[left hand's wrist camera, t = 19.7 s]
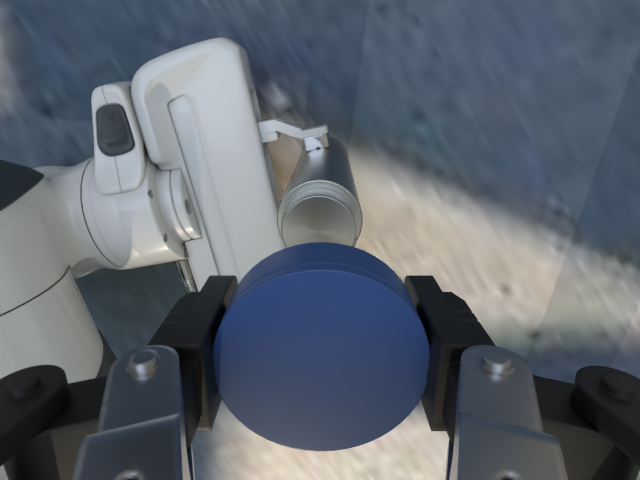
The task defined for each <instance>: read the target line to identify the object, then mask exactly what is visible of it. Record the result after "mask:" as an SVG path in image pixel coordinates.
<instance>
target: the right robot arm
mask: <svg viewBox="0 0 640 480" xmlns="http://www.w3.org/2000/svg"><path fill="white" fill-rule="evenodd" d="M91 104H92V118H93V133H94V157H91V158H89V159H87V160H85V161H83V162H82V163H80V164H78V165H75V166H70V167H64V166H42V167H37V168H32V169H31V168H29V167H26V166H22V165H18V164H15V163H11V162H8V161H4V160H0V379H1V378H3V377H5V376H7V375H9V374H11V373H13V372H16V371H18V370H21V369H24V368H28V367H32V366H37V365H55V366H59V367H61V368H62V369H63V370H64V371H65V373H66V377H67V381H68V384H69V383H74V382H78V381H83V380H88V379H93V378H98V377H102V376H106V375H108V371H109V368H110V366H111V365H112V363H113V362H114V361H115V360H116V359H117V358H116V356H115V355H114V353H113V351H112V350H111V348H110V346H109V345H108V343H107V341H106V340H105V338H104V337H103V335H102V333H101V332H100V330H99V329H98V328H97V327H96V325H95V323H94V321H93V319H92V317H91V314H90V312H89V310H88V308H87V306H86V304H85V302H84V299H83V297H82V295H81V293H80V291H79V289H78V287H77V285H76V282H75V280H74V278H78V277H82V276H85V275H87V274H89V273H91V272H93V271H95V270H98V269H102V268H109V269H117V270H125V269H131V268H137V267H143V266H148V265H154V264H160V263H166V262H172V261H175V264H176V266H177V269H178V272H179V275H180V277H181V280H182V282H183V284H184V286H185V288H186V291H187V293H186V294H188V293H190V292H200V291H201V289H202V287H203V286H204V284H205V282H206V281H207V279H208V277H209V276H210V275H235V276H236V277H237V281H238V284H239V283H240V281H241V280H242V278H243V277H244V276H245V275H246V274H247V273H248V272H249V271H250V270H251V268H253V267H254V266H255V265H256V264H258V263H259V262H260V261H261V260H263V259H264V258H266V257H268V256H269V255H271V254H273V253H275V252H277V251H280V250H282V249H284V248H286V246H285V244H284V241H283V240H282V238H281V236H280V234H279V231H278V226H277V213H278V208H279V206H280V203H281V200H280V196H279V191H278V187H277V182H276V178H275V174H274V169H273V165H272V161H271V156H270V152H269V148H268V143H267V142H270V141H275V140H277V139H278V138H279V137H280V132H281V133H284V134H287V135H290V136H292V137H295V138H298V139H301V140H303V139H304V144H305V148H306V151H311V150H315V149H316V148H317V147H319V148H327V147H330V139H329V133H328V128H327V124H324V125H318V126H313V127H307V128H303V127H302V126H299V125H296V124H294V123H291V122H288V121H285V120H283V119H280V118H272V119H267V120H262V117H261V113H260V108H259V104H258V100H257V95H256V91H255V86H254V82H253V78H252V73H251V69H250V65H249V60H248V56H247V53H246V51H245V49H244V48H242V47H241V46H240V45H239V44H237V43H236V42H234V41H232V40H230V39H228V38H224V37H219V38H214V39H209V40H205V41H201V42H198V43H194V44H191V45H188V46H185V47H182V48H179V49H176V50H173V51H171V52H168V53H166V54H163V55H161V56H159V57H156V58H154V59H152V60H150V61H148V62H147V63H145V64H144V65H143V66H141V67H140V68H139V69H138V71H137V72H136V73H135V75H134V77H133V80H132V81H121V82H114V83H109V84H105V85H102V86H99V87H97V88H96V89H94V91H93V93H92V98H91ZM0 480H8V477H7V474H6V472H5V469H4V466H3V465H2V466H1V467H0Z"/></svg>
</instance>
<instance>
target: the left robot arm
mask: <svg viewBox="0 0 640 480" xmlns="http://www.w3.org/2000/svg"><path fill="white" fill-rule="evenodd" d="M237 285H238V281H237V277H236V276H235V275H210V276H209V277H208V279H207V281H206V282H205V284H204V286H203V287H202V289H201V291H200V292H190V293H188V294H187V295H185V296H184V297H182V298H181V299H179V300H178V301H177V302H176V304H175V305H174V307H173V308H172V310H171V313H169V314H168V316H167V317H166V319H165V321H164V322H163V323H162V324H161V326H160V327H159V329H158V330H157V332H156V333H155V335H154V336H153V338H152V339H151V341H150V342H149V344H148V345H147V346H143V347H139V348H136V349H133V350H131V351H129V352H127V353H125V354H123V355H122V356H120V357H119V358H117V359H116V360H115V361H114V362H113V363H112V365H111V366H110V368H109V371H108V375H106V376H102V377H98V378H93V379H88V380H83V381H78V382H74V383H69V384H68V381H67V377H66V373H65V371H64V370H63V369H62V368H61V367H59V366H55V365H37V366H32V367H28V368H24V369H21V370H18V371H16V372H13V373H11V374H9V375H7V376H5V377H3V378H1V379H0V467H1V466H2V465H3V466H4V469H5V472H6V474H7V477H8V480H195V476H194V464H193V452H192V445H191V443H192V441H193V438H194V435H195V432H196V430H212V427H213V424H214V421H215V418H216V415H217V411H218V408H219V405H220V402H221V399H222V398H221V396H220V394H219V392H218V390H217V386H216V378H215V369H214V360H213V343H214V339H215V336H216V333H217V330H218V328H219V326H220V323H221V321H222V318H223V316H224V314H225V311H226V309H227V307H228V304H229V302H230V300H231V297H232V295H233V293H234V291H235V289H236V287H237ZM404 285H405V287H406V288H407V290H408V292H409V295H410V297H411V299H412V301H413V304H414V306H415V308H416V311H417V313H418V315H419V317H420V320H421V322H422V324H423V327H424V329H425V331H426V334H427V337H428V341H429V344H430V355H429V364H428V373H427V381H426V388H425V390H424V393H423V395H422V397H421V401H422V404H423V407H424V410H425V413H426V416H427V419H428V422H429V426H430V429H431V431H447V433H448V436H449V445H448V452H447V464H446V476H445V480H636V479H637V476H638V473H639V471H640V379H638V378H636V377H635V376H633V375H630V374H628V373H626V372H623V371H620V370H617V369H613V368H609V367H603V366H587V367H583V368H581V369H579V371H578V372H577V374H576V377H575V380H574V384H571V383H566V382H562V381H557V380H552V379H547V378H543V377H538V376H535V375H532V371H531V368H530V366H529V365H528V363H527V362H526V361H525V360H524V359H523V358H521V357H520V356H518V355H517V354H515V353H513V352H511V351H509V350H507V349H504V348H501V347H497V346H495V344H494V343H493V341H492V340H491V338H490V337H489V336H488V334H487V333H486V331H485V330H484V328H483V327H482V325H481V324H480V323H479V322H478V321H477V318H476V317H475V315H474V314H473V313H472V311H471V309H470V308H469V307H468V305H467V304H466V302H465V301H464V300H463V299H461V298H460V297H458V296H456V295H455V294H453V293H452V292H442V290H441V289H440V287H439V285H438V284H437V282H436V280H435V279H434V277H433V276H406V278H405V282H404Z"/></svg>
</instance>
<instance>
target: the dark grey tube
mask: <svg viewBox="0 0 640 480" xmlns="http://www.w3.org/2000/svg"><path fill="white" fill-rule="evenodd" d="M329 139H330V147H327V148H319V147H317V148H316V149H315V150H311V151H306V148H304V149H303V152H302V154H301V156H300V159H299V161H298V163H297V166H296V168H295V170H294V173H293V175H292V177H291V180H290V182H289V184H288V187H287V189H286V191H285V194H284V196H283V198H282V201H281V203H280V206H279V208H278V213H277V226H278V231H279V234H280V236H281V238H282V240H283V241H284V244H285V246H286V248H288V247H291V246H295V245H299V244H305V243H313V242H329V243H339V244H343V245H348V246H352V247H355V244H356V242H357V240H358V238H359V235H360V233H361V229H362V222H363V218H362V211H361V207H360V203H359V199H358V195H357V191H356V187H355V184H354V180H353V176H352V172H351V168H350V164H349V160H348V156H347V152H346V150H345V148H344V146H343V145H342V144H341V143H340V142H339V141H338V140H336V139H334V138H332V137H329Z"/></svg>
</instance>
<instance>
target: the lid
mask: <svg viewBox="0 0 640 480" xmlns="http://www.w3.org/2000/svg"><path fill="white" fill-rule="evenodd" d="M429 355H430V344H429V341H428V337H427V334H426V331H425V329H424V327H423V324H422V322H421V320H420V317H419V315H418V313H417V311H416V308H415V306H414V304H413V301H412V299H411V297H410V295H409V292H408V290H407V288H406V287H405V285H404V284H403V282H402V280H401V279H400V278H399V277H398V276H397V274H396V273H395V272H394V271H393V270H392V269H391V268H390V267H389V266H387V265H386V264H385V263H384V262H382V261H381V260H379V259H378V258H376V257H375V256H373V255H371V254H369V253H367V252H365V251H363V250H360V249H358V248H355V247H352V246H348V245H343V244H339V243H329V242H313V243H305V244H299V245H295V246H291V247H288V248H284V249H282V250H280V251H277V252H275V253H273V254H271V255H269V256H268V257H266V258H264V259H263V260H261V261H260V262H259V263H258V264H256V265H255V266H254V267H253V268H251V270H250V271H249V272H248V273H247V274H246V275H245V276H244V277H243V278H242V280H241V281H240V283H239V284H238V285H237V287H236V289H235V291H234V293H233V295H232V297H231V300H230V302H229V304H228V307H227V309H226V311H225V314H224V316H223V318H222V321H221V323H220V326H219V328H218V330H217V333H216V336H215V339H214V343H213V360H214V369H215V378H216V386H217V390H218V392H219V394H220V396H221V398H222V400H223V401H224V403H225V404H226V406H227V407H228V409H229V410H230V411H231V412H232V413H233V415H234V416H235V417H236V418H237V419H238V420H239V421H240V422H241V423H243V424H244V425H245V426H246V427H247V428H249V429H250V430H252V431H253V432H255V433H256V434H258V435H260V436H262V437H264V438H265V439H267V440H270V441H272V442H275V443H277V444H280V445H283V446H287V447H290V448H295V449H301V450H308V451H334V450H342V449H347V448H352V447H356V446H359V445H362V444H365V443H368V442H370V441H373V440H375V439H377V438H379V437H381V436H383V435H384V434H386V433H388V432H389V431H391V430H392V429H394V428H395V427H396V426H397V425H399V424H400V423H401V422H402V421H403V420H404V419H405V418H406V417H407V416H408V415H409V414H410V413H411V412H412V410H413V409H414V408H415V407H416V405H417V404H418V402H419V400H420V399H421V397H422V395H423V393H424V390H425V388H426V381H427V373H428V364H429Z"/></svg>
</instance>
